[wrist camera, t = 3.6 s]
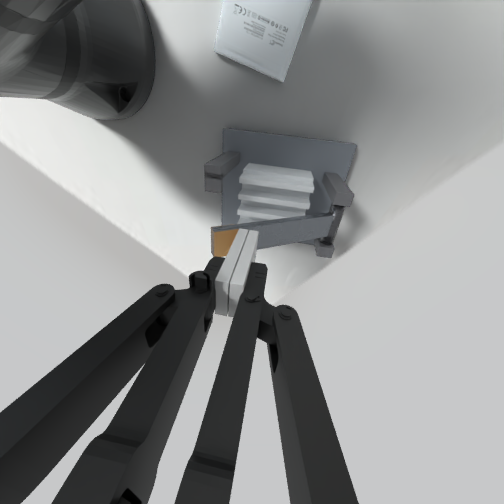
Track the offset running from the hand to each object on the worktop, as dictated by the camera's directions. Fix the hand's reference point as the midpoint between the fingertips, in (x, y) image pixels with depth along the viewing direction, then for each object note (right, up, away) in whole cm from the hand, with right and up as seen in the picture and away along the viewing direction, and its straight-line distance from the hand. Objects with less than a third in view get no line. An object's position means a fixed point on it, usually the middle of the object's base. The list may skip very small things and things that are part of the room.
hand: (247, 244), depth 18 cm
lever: (+3, +2, +3) cm, 4 cm away
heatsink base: (+4, +8, +13) cm, 16 cm away
